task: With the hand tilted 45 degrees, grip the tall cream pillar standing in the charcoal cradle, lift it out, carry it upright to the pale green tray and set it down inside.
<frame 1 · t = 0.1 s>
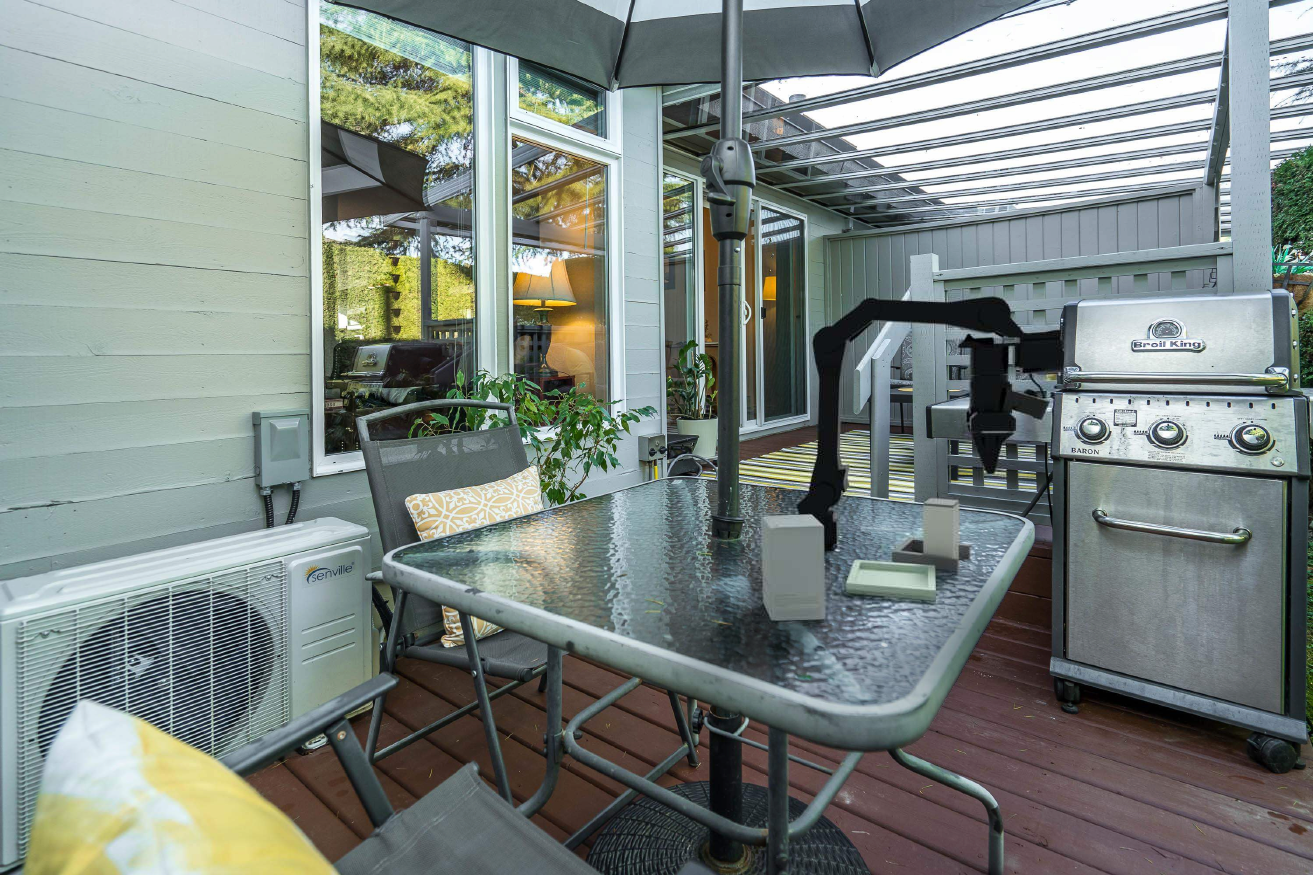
hand: (988, 469, 110), 15 cm above the table, tool pointing down, fingers open, 9 cm apart
cradle: (941, 560, 109), on the table
tray: (892, 583, 99), on the table
supplement box: (793, 612, 90), on the table
tall cream pillar: (941, 531, 109), in the cradle
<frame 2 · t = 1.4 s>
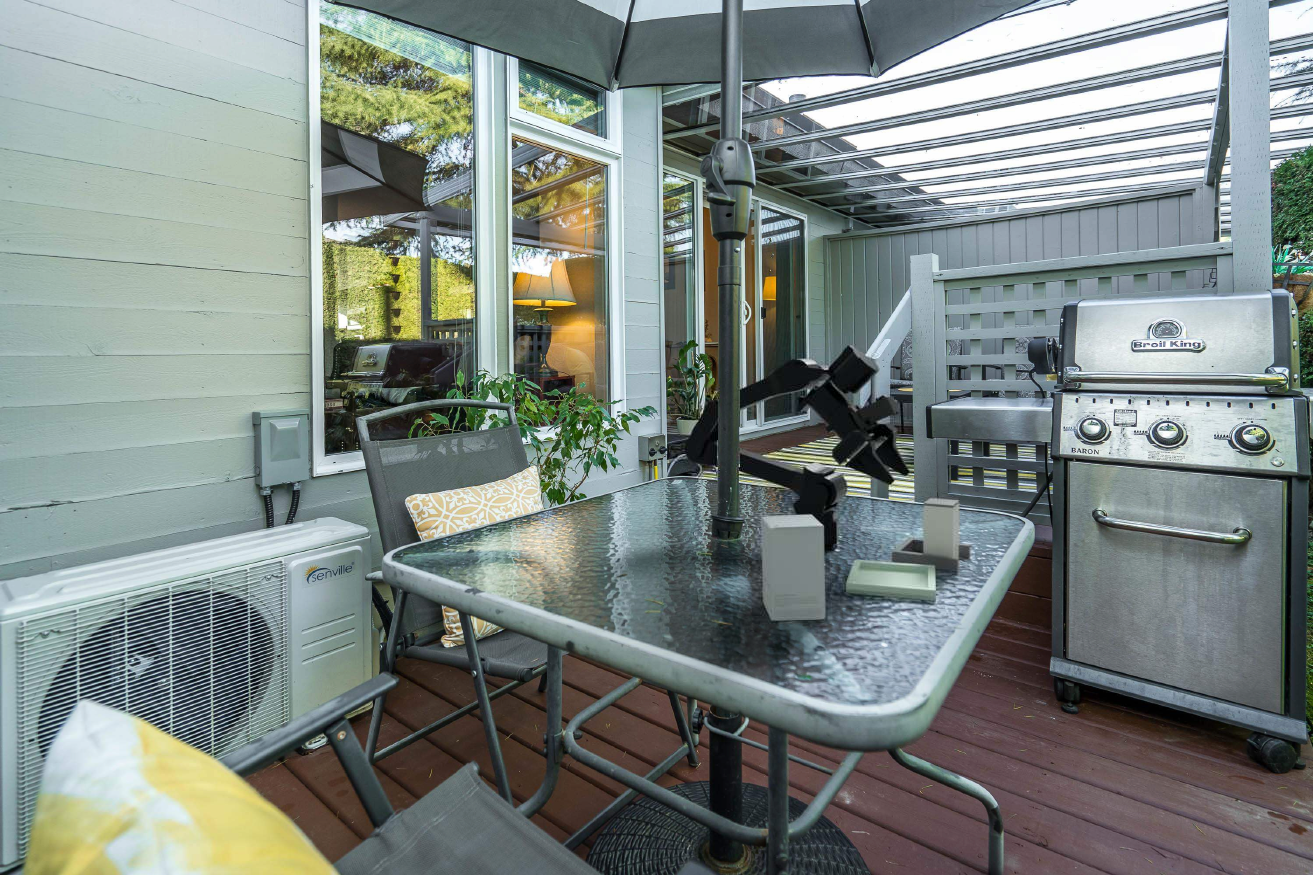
hand: (900, 478, 112), 13 cm above the table, tool tilted 45°, fingers open, 9 cm apart
nothing on the table moved.
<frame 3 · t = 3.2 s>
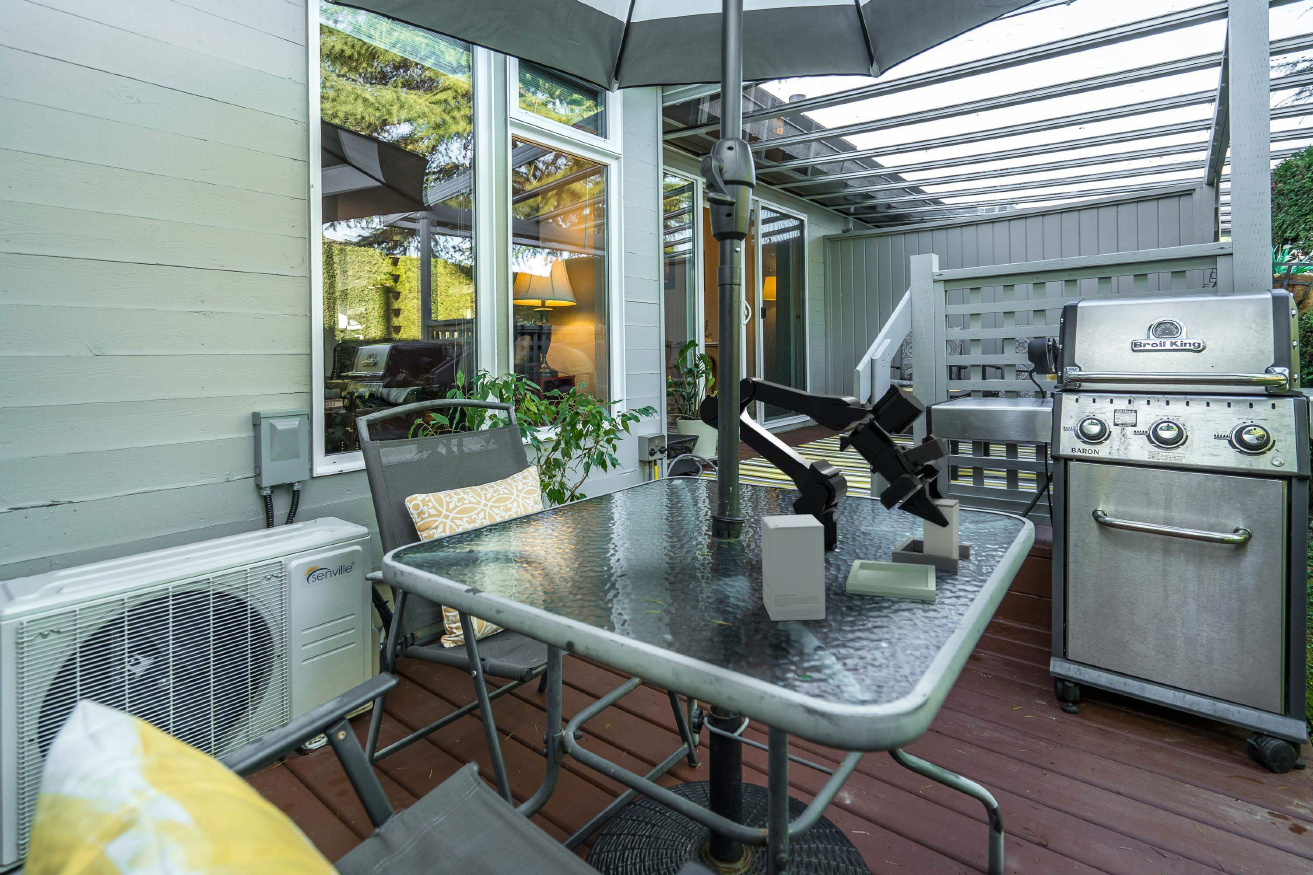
hand: (950, 522, 108), 7 cm above the table, tool tilted 45°, fingers closed on tall cream pillar, 4 cm apart
tall cream pillar: (941, 531, 109), in the cradle, touching gripper
everything else where it was.
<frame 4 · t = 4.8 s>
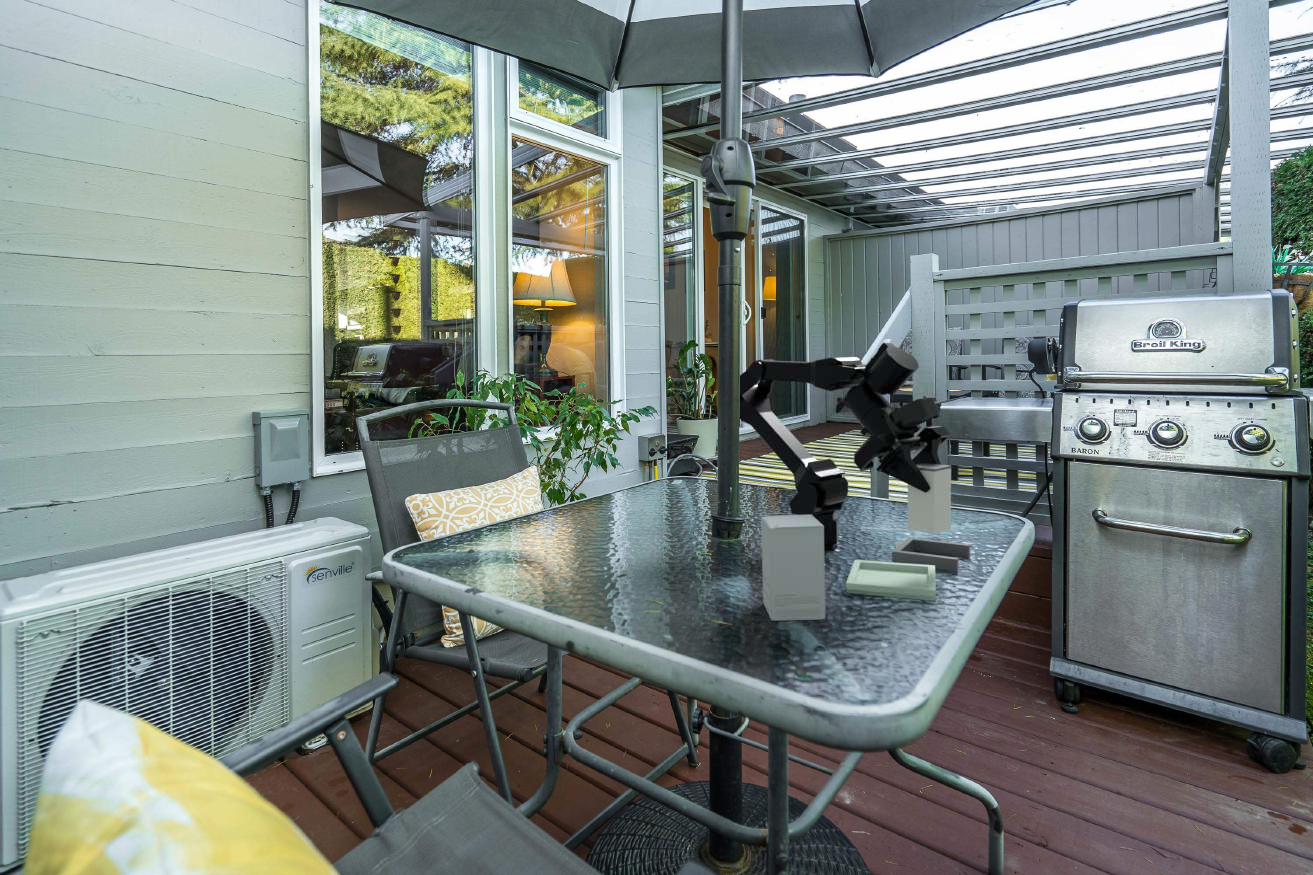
hand: (937, 488, 101), 14 cm above the table, tool tilted 45°, fingers closed on tall cream pillar, 4 cm apart
tall cream pillar: (929, 497, 103), point 12 cm above the table, touching gripper
everything else where it was.
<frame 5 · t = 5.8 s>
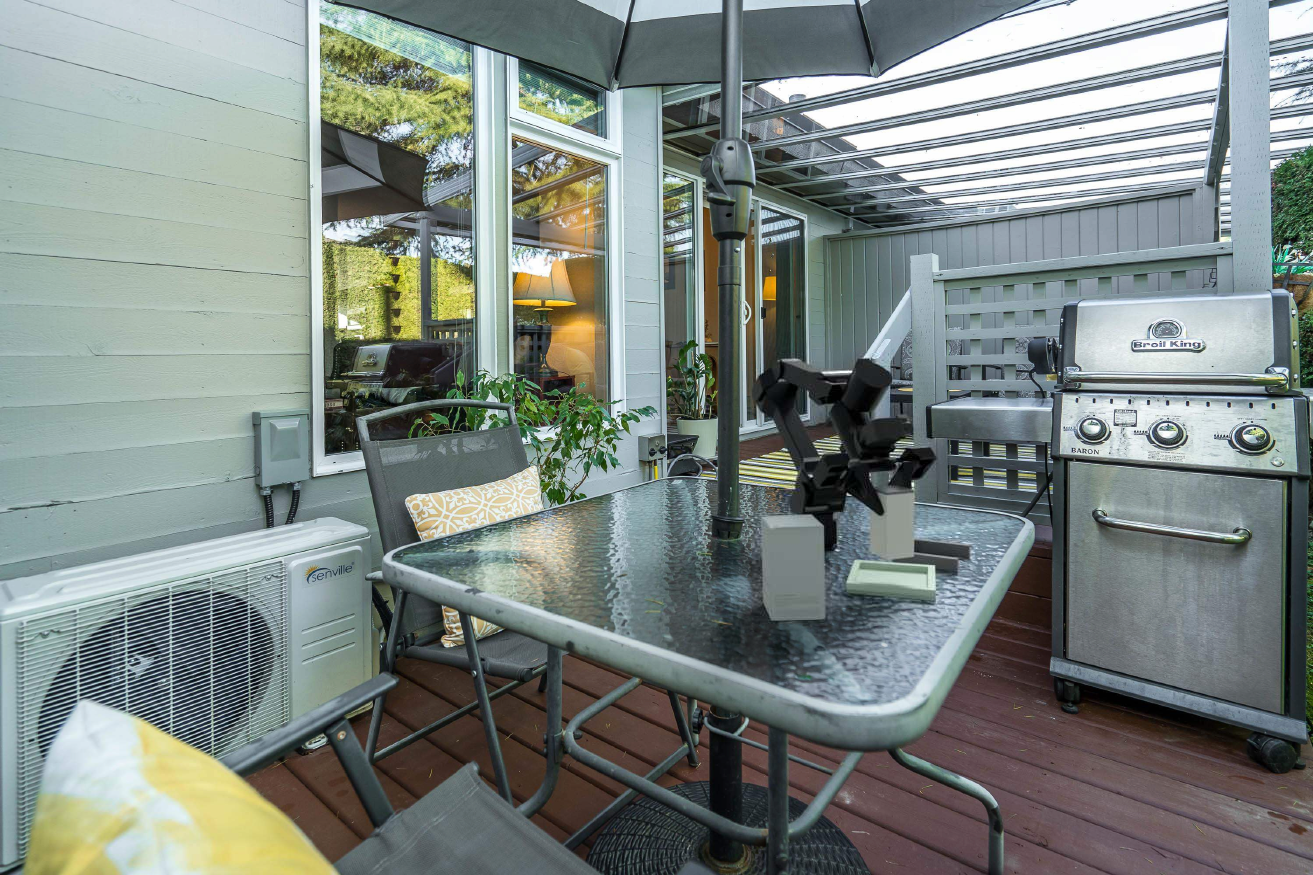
hand: (896, 512, 97), 11 cm above the table, tool tilted 45°, fingers closed on tall cream pillar, 4 cm apart
tall cream pillar: (891, 521, 98), point 10 cm above the table, touching gripper
everything else where it was.
when the fingers open (8 cm above the table, at t = 6.7 s): tall cream pillar stays where it is, resting on tray.
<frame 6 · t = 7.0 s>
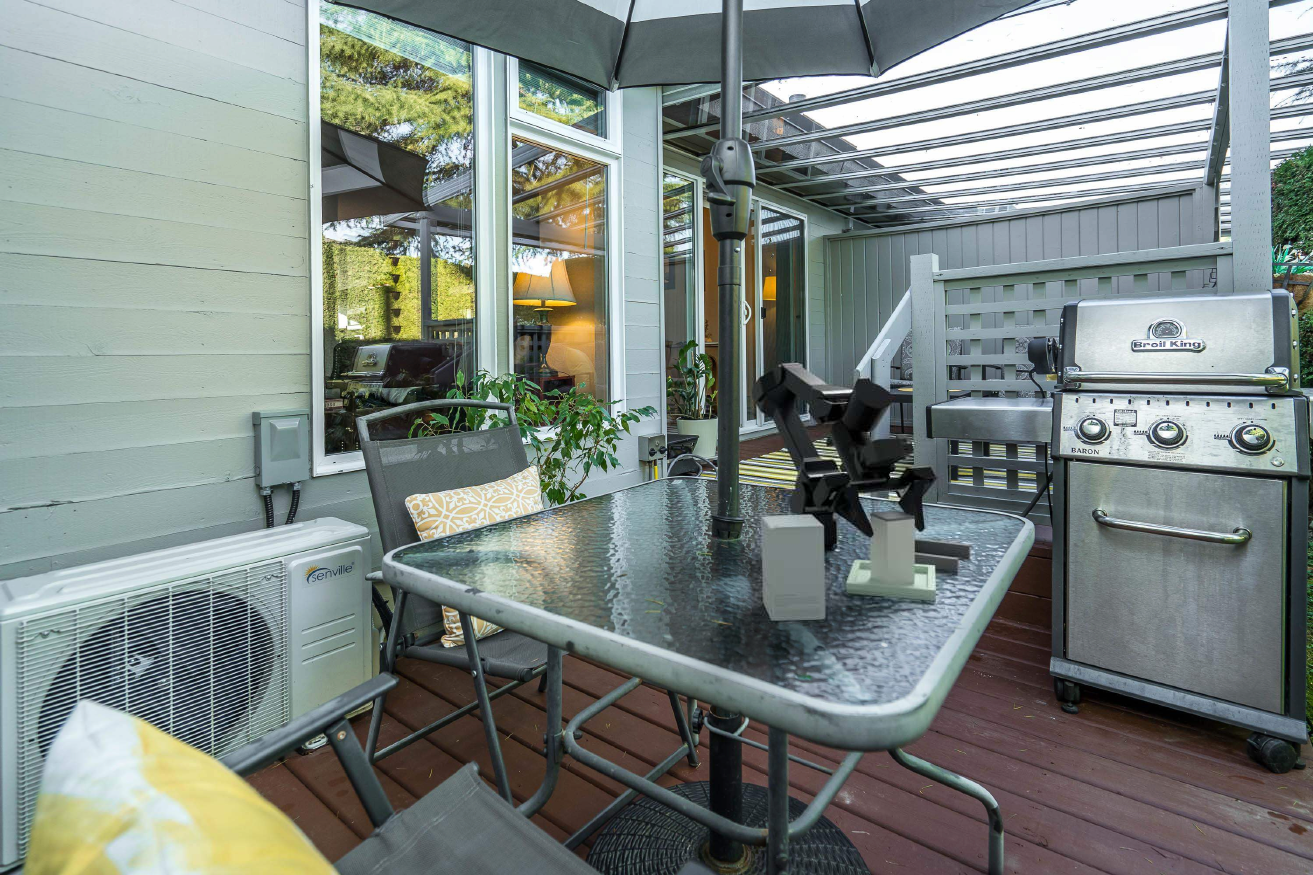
hand: (897, 533, 97), 8 cm above the table, tool tilted 45°, fingers open, 8 cm apart
tall cream pillar: (892, 547, 99), point 6 cm above the table, touching tray
everything else where it was.
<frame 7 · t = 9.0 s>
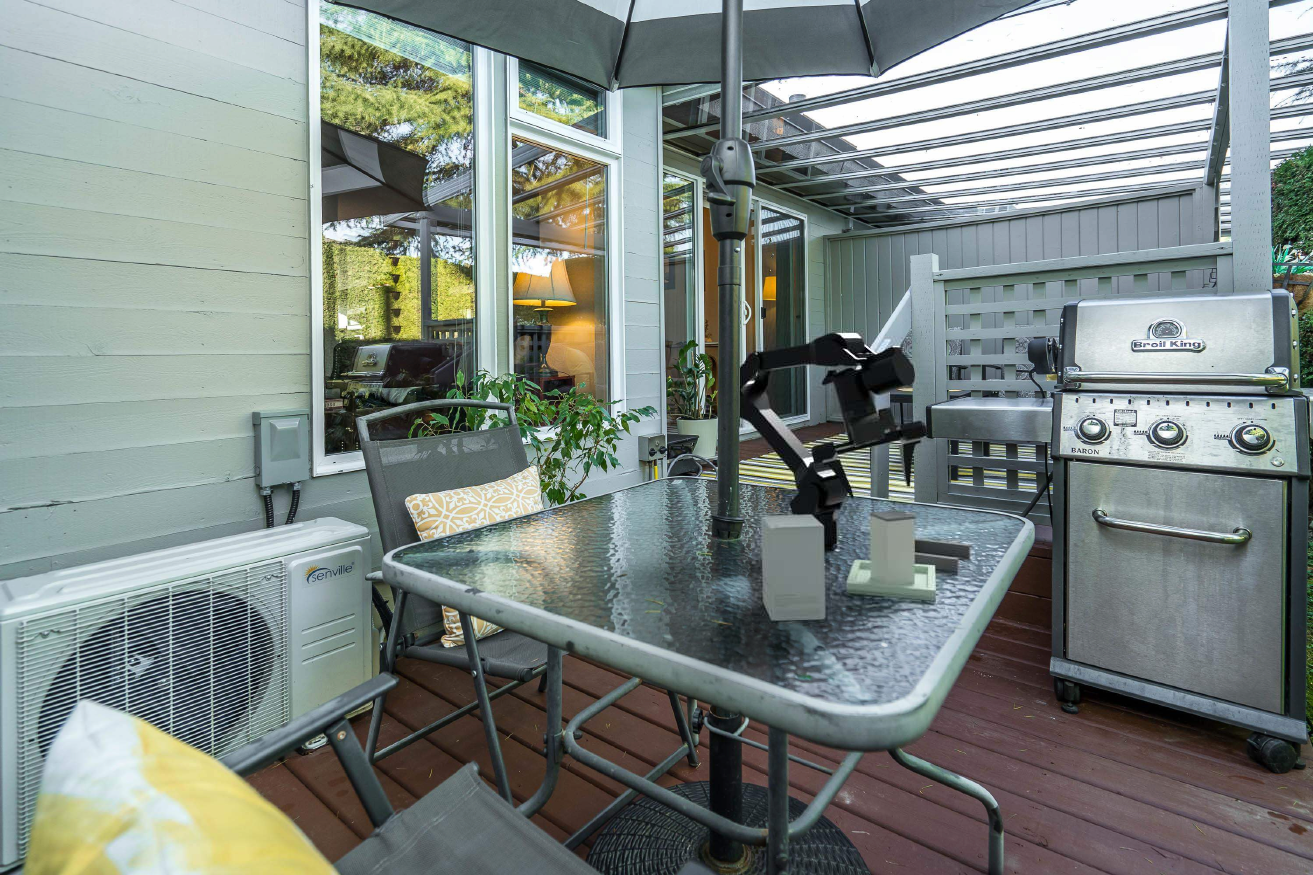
hand: (880, 492, 111), 11 cm above the table, tool tilted 15°, fingers open, 9 cm apart
nothing on the table moved.
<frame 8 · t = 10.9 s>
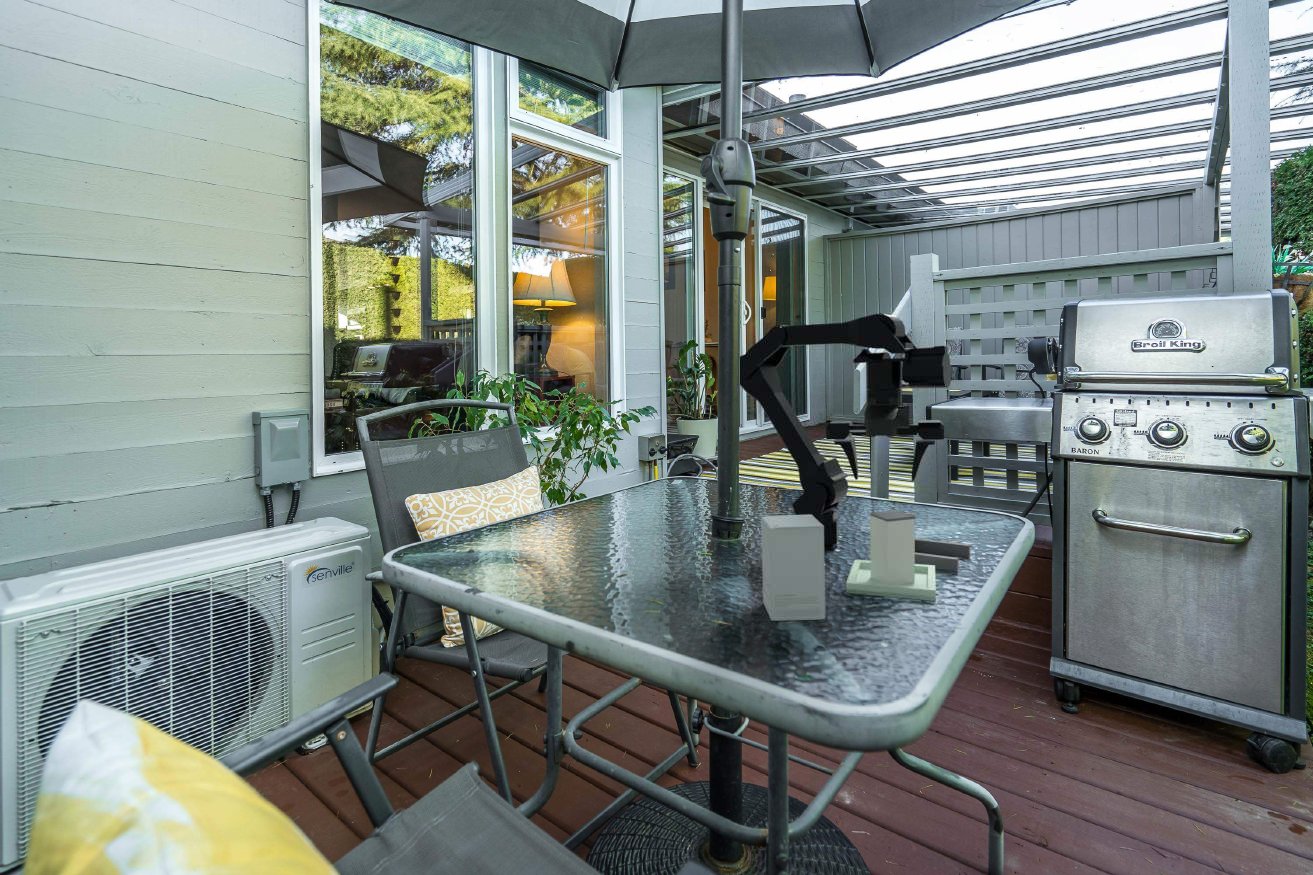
hand: (884, 479, 113), 13 cm above the table, tool pointing down, fingers open, 9 cm apart
nothing on the table moved.
at the end: tall cream pillar inside the target area on the tray (0.0 cm from its centre), point 5.6 cm above the tray's base; tall cream pillar tilted 0°; the gripper is holding nothing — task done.
